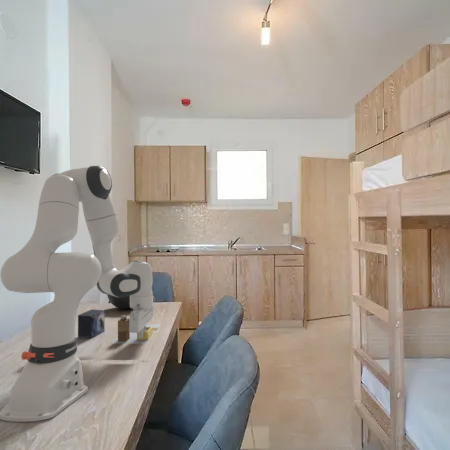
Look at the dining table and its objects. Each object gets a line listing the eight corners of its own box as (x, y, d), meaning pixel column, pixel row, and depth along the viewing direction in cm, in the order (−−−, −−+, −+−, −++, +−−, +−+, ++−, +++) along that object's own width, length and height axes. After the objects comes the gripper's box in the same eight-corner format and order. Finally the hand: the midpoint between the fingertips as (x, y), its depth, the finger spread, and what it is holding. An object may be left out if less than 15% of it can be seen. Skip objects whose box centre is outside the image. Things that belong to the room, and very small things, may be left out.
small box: (91, 341, 141) (91, 315, 141) (77, 341, 143) (76, 315, 143) (105, 333, 152) (105, 309, 152) (91, 333, 153) (91, 309, 153)
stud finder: (148, 339, 139) (148, 331, 139) (137, 339, 140) (136, 331, 140) (152, 334, 146) (152, 326, 146) (142, 334, 147) (141, 326, 147)
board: (146, 346, 135) (146, 343, 135) (110, 346, 136) (110, 343, 136) (161, 326, 161) (161, 324, 161) (131, 326, 162) (131, 324, 162)
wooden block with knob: (126, 341, 138) (126, 317, 138) (118, 341, 138) (117, 317, 138) (129, 338, 141) (129, 314, 141) (121, 338, 141) (120, 314, 141)
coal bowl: (151, 307, 200) (151, 274, 200) (124, 314, 184) (124, 278, 184) (127, 303, 211) (126, 272, 211) (99, 310, 194) (98, 276, 194)
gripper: (141, 308, 127) (142, 346, 127) (155, 296, 148) (156, 329, 148) (124, 308, 128) (125, 346, 128) (140, 296, 148) (141, 329, 148)
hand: (141, 337), depth 138 cm, fingers closed
